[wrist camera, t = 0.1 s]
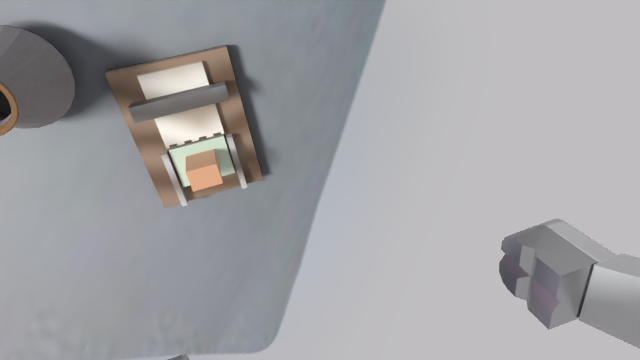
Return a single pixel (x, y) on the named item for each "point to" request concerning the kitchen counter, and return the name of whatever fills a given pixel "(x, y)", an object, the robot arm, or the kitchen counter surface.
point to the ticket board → (185, 117)
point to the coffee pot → (32, 81)
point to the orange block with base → (202, 162)
